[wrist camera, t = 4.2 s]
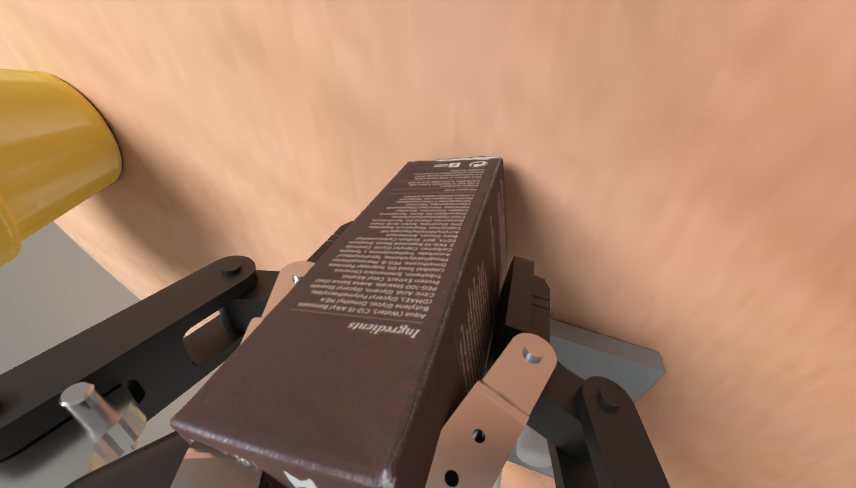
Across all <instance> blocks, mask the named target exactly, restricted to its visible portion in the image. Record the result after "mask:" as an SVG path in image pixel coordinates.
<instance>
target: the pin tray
mask: <svg viewBox="0 0 856 488" xmlns="http://www.w3.org/2000/svg"><path fill="white" fill-rule="evenodd" d="M550 345H551V346H552V348H553V349H554V351H555V353H556V356H557V360H558V361H559V362H560V363H561V364H562V365H563V366H564V367H565V368H567V369H568V370H570V371H571V372H573V373H574V374H576V375H578V376H579V377H581V378H582V379H584V380H586V379H588V378H589V377H592V376H601V377H605V378H608V379H610V380H612V381H614V382H615V383H617V384H618V385H619V386H621V387H622V388H623V389H624V390H625V391H626V392H627V394H628V395H629V396H630V398H631V399H632V401H633V403H635V402H636V401H637V400H638V399H639V398H640V397H641V396H642V395H643V394H644V393H645V392H646V391H647V390H648V389H649V388H650V387H651V386H652V385H653V384H654V383H655V382H656V381H657V380H658V379H659V378H660V377H661V376H662V375H663V374H664V373H665V372H666V371H665V369H664V366H663V363H662V360H661V357H660V354H659V352H656V351H652V350H649V349H646V348H643V347H640V346H637V345H633V344H630V343H627V342H624V341H621V340H618V339H614V338H611V337H608V336H605V335H602V334H598V333H595V332H592V331H589V330H586V329H583V328H579V327H576V326H573V325H570V324H567V323H564V322H560V321H557V320H554V319H551V318H550ZM507 460H508V461H510V462H513V463H516V464H518V465H521V466H524V467H526V468H529V469H531V470H534V471H537V472H539V473H542V474H545V475H547V476H550V477H552V478H554V474H553V469H552V464H551V459H550V454H549V449H548V444H547V439H546V438H544V437H543V436H541V435H540V434H539V433H537V432H536V431H535V430H533V429H532V428H531V427H529V426H528V425H527V424H526V425H525V427H524V429H523V431H522V433H521V435H520V437H519V438H518V440H517V442H516V444H515V446H514V448H513V450H512V452H511V453H510V455H509V457H508V459H507ZM501 473H502V470H501V472H500V474H499V476H498V478H497V480H496V482H495V483H494V485H493V487H492V488H500V484H501Z"/></svg>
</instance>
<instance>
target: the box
mask: <svg viewBox="0 0 856 488" xmlns="http://www.w3.org/2000/svg"><path fill="white" fill-rule="evenodd" d="M506 272H507V242H506V210H505V188H504V170H503V159H502V158H501V157H487V156H481V157H475V158H473V157H470V158H453V159H442V160H440V159H439V160H427V161H415V162H407V164H406V165H405V166H404V167H403V168H402V169H401V170H400V171H399V172H398V174H397V175H396V176H395V177H394V178H393V179H392V180H391V181H390V182H389V183H388V185H387V186H385V188H384V189H383V190H382V191H381V192H380V193H379V194H378V195H377V196H376V197H375V199H374V200H373V201H372V202H371V203H370V204H369V205H368V206H367V207H366V209H365V210H364V211H362V212H361V214H360V215H359V216H358V217H357V218H356V219H355V220H354V221H353V222H352V224H351V225H350V226H349V227H348V228H347V229H346V230H345V231H344V232H343V234H342V235H341V236H340V237H339V238H338V239H337V240H336V241H335V242H334V243H333V245H332V246H331V247H330V248H329V249H328V250H327V251H326V252H325V253H324V254H323V255H322V256H321V257H320V259H319V260H318V261H317V262H316V263H315V264H314V265H313V266H312V267H311V268H310V269H309V271H308V272H307V273H306V274H305V275H304V276H303V277H302V278H301V279H300V280H299V281H298V282H297V283H296V284H295V285H294V287H293V288H292V289H291V290H290V291H289V293H288V294H287V295H286V296H285V297H284V298H283V299H282V300H281V301H280V302H279V303H278V304H277V305H276V306H275V307H274V308H273V309H272V310H271V311H270V312H269V313H268V314H267V315H266V317H265V318H264V319H263V320H262V322H261V323H260V324H259V325H258V326H257V327H256V328H255V329H254V330H253V332H252V333H251V334H250V335H249V336H248V337H247V338H246V339H245V340H244V341H243V342H242V344H241V345H240V346H239V347H238V348H237V349H236V350H235V351H234V352H233V353H232V354H231V355H230V356H229V358H228V359H227V360H226V361H225V362H224V363H223V364H222V366H221V367H220V368H219V369H218V370H217V371H216V372H215V373H214V374H213V375H212V377H211V378H210V379H209V380H208V381H207V382H206V383H205V384H204V385H203V387H202V388H201V389H200V390H199V391H198V392H197V393H196V394H195V395H194V397H193V398H192V399H191V400H190V401H189V402H188V403H187V404H186V405H185V406H184V407H183V408H182V409H181V410H180V411H179V412H178V413H176V414H175V415H174V416H173V417H172V418H171V420H170V426H171V427H172V428H173V429H175V430H176V431H177V432H178V433H179V434H180V436H181V437H183V438H184V439H185V440H186V441H187V442H188V443H189V444H190V445H191V444H192V443H193V442H194V440H195V441H198V442H200V443H203V444H205V445H208V446H210V447H212V448H215V449H217V450H220V451H222V452H224V453H226V454H229V455H231V456H233V457H235V458H237V459H240V460H242V461H244V462H246V463H248V464H251V465H253V466H255V467H257V468H259V469H262V470H263V472H264V474H265V477H266V480H267V483H268V485H269V488H425V486H426V482H427V479H428V476H429V472H430V469H431V465H432V462H433V458H434V454H435V451H436V447H437V444H438V440H439V436H440V433H441V429H442V428H443V427H444V425H445V424H446V423H447V421H448V420H449V419H450V417H451V416H452V415H453V413H454V412H455V411H456V409H457V408H458V407H459V405H460V404H461V402H462V401H463V400H464V398H465V397H466V396H467V394H468V393H469V392H470V390H471V389H472V388H473V386H474V385H475V384H476V383H477V382H478V381H479V380H480V379H481V380H482V379H483V378H484V377H485V376H486V374H487V373H488V371H487V370H486V367H487V361H488V355H489V350H490V344H491V339H492V333H493V327H494V322H495V316H496V311H497V305H498V300H499V296H500V292H501V289H502V286H503V283H504V281H505V277H506Z"/></svg>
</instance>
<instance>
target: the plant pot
mask: <svg viewBox="0 0 856 488" xmlns="http://www.w3.org/2000/svg"><path fill="white" fill-rule="evenodd" d="M121 169H122V159H121V154H120V151H119V147H118V145H117V142H116V140H115V138H114V136H113V134H112V132H111V131H110V129H109V127H108V126H107V124H106V123H105V121H104V120H103V118H102V117H101V115H100V114H99V113H98V112H97V110H96V109H95V108H94V107H93V106H92V105H91V104H90V103H89V102H88V101H87V100H86V99H85V97H83V96H82V95H81V94H80V93H79V92H78V91H77V90H75V89H74V88H73V87H72V86H70V85H69V84H67V83H65V82H64V81H62V80H61V79H59V78H57V77H55V76H53V75H50V74H47V73H43V72H38V71H25V70H11V69H0V266H2V265H3V264H6V263H8V262H10V261H11V260H13V259H14V258H16V256H17V255H18V254H19V252H20V247H21V246H20V242H21V241H23V240H24V239H26V238H28V237H29V236H31V235H32V234H34V233H35V232H36V231H38V230H40V229H41V228H43V227H44V226H46V225H47V224H49V223H50V222H52V221H54V220H55V219H57V218H58V217H60V216H61V215H63V214H65V213H66V212H68V211H69V210H71V209H72V208H74V207H75V206H77V205H78V204H80V203H82V202H83V201H85V200H86V199H88V198H89V197H91V196H93V195H94V194H96V193H97V192H99V191H100V190H102V189H104V188H105V187H107V186H108V185H110V184H111V183H113V182H114V181H115V180H117V178H118V177H119V175H120V173H121Z"/></svg>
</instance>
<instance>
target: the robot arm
mask: <svg viewBox="0 0 856 488" xmlns="http://www.w3.org/2000/svg"><path fill="white" fill-rule="evenodd" d="M352 222H353V221H351V222H349V223H347V224H344V225H342V226H341V227H340V228H339V229H338V230H337V231H336V232H335V233H334V235H332V236H331V237H330V238H329V239H328V241H326V242H325V243H324V244H323V245H322V246H321V247H320V248H319V249H318V250H317V251H316V252H315V253H314V254H313V255H312V256H311V257H310V258H309V259H308V260H307V261H298V262H294V263H291V264H289V265H287V266H285V267H284V268H283V269H282V270H281V271H263V270H256V266H255V263H254V261H253V260H251V259H250V258H248V257H245V256H229V257H225V258H222V259H219V260H217V261H215V262H213V263H212V264H210V265H208V266H206V267H204V268H202V269H200V270H198V271H196V272H194V273H193V274H191V275H189V276H187V277H185V278H183V279H181V280H179V281H177V282H176V283H174V284H172V285H170V286H168V287H166V288H164V289H162V290H160V291H159V292H157V293H155V294H153V295H151V296H149V297H147V298H145V299H143V300H141V301H140V302H138V303H136V304H134V305H132V306H130V307H128V308H127V309H124V310H123V311H121V312H119V313H117V314H115V315H113V316H111V317H109V318H107V319H106V320H104V321H102V322H100V323H98V324H96V325H94V326H93V327H90V328H89V329H87V330H85V331H83V332H81V333H79V334H77V335H75V336H73V337H72V338H70V339H68V340H66V341H64V342H62V343H60V344H58V345H56V346H54V347H53V348H51V349H49V350H47V351H45V352H43V353H41V354H40V355H37V356H36V357H34V358H32V359H30V360H28V361H26V362H24V363H23V364H20V365H19V366H17V367H15V368H13V369H11V370H9V371H7V372H5V373H3V374H2V375H0V488H269V485H268V483H267V480H266V477H265V474H264V472H263V470H262V469H259V468H257V467H255V466H253V465H251V464H248V463H246V462H244V461H242V460H240V459H237V458H235V457H233V456H231V455H229V454H226V453H224V452H222V451H220V450H217V449H215V448H212V447H210V446H208V445H205V444H203V443H200V442H198V441H195V440H194V442H193V443H192V444H191V445H190V444H189V443H188V442H187V441H186V440H185V439H184V438H183V437H181V436H180V434H179V433H178V432H177V431H175V432H173V433H170V434H169V435H166V436H164V437H162V438H160V439H158V440H156V441H154V442H152V443H150V444H148V445H146V446H144V447H141V448H139V449H137V450H135V451H133V450H134V449H135V447H136V446H137V444H138V438H139V436H140V435H141V433H142V432H143V430H144V428H145V425H146V422H147V421H148V420H150V419H151V418H152V417H154V416H155V415H156V414H157V413H159V412H160V411H161V410H162V409H164V408H165V407H166V406H168V405H169V404H170V403H171V402H173V401H174V400H175V399H177V398H178V397H179V396H180V395H182V394H183V393H184V392H186V391H187V390H188V389H190V388H191V387H192V386H193V385H195V384H196V383H197V382H199V381H200V380H201V379H202V378H204V377H205V376H206V375H208V374H209V373H210V372H211V371H213V370H214V369H215V368H217V367H218V366H219V365H221V364H222V363H223V362H224V361H226V360H227V359H228V358H229V356H230V355H231V354H232V353H233V352H234V351H235V350H236V349H237V348H238V347H239V346H240V345H241V344H242V342H243V341H244V340H245V339H246V338H247V337H248V336H249V335H250V334H251V333H252V332H253V330H254V329H255V328H256V327H257V326H258V325H259V324H260V323H261V322H262V320H263V319H264V318H265V317H266V315H267V314H268V313H269V312H270V311H271V310H272V309H273V308H274V307H275V306H276V305H277V304H278V303H279V302H280V301H281V300H282V299H283V298H284V297H285V296H286V295H287V294H288V293H289V291H290V290H291V289H292V288H293V287H294V285H295V284H296V283H297V282H298V281H299V280H300V279H301V278H302V277H303V276H304V275H305V274H306V273H307V272H308V271H309V269H310V268H311V267H312V266H313V265H314V264H315V263H316V262H317V261H318V260H319V259H320V257H321V256H322V255H323V254H324V253H325V252H326V251H327V250H328V249H329V248H330V247H331V246H332V245H333V243H334V242H335V241H336V240H337V239H338V238H339V237H340V236H341V235H342V234H343V232H344V231H345V230H346V229H347V228H348V227H349V226H350V225H351V224H352ZM533 270H534V262H533V261H529V260H526V259H522V258H519V257H516V256H514V258H513V260H512V262H511V265H510V268H509V270H508V273H507V275H506V278H505V281H504V283H503V286H502V289H501V292H500V296H499V300H498V305H497V311H496V316H495V322H494V327H493V333H492V339H491V344H490V350H489V355H488V361H487V367H486V370H487V371H488V373H487V374H486V376H485V377H484V378H483V379H482V380H481V379H480V380H479V381H478V382H477V383H476V384H475V385H474V386H473V388H472V389H471V390H470V392H469V393H468V394H467V396H466V397H465V398H464V400H463V401H462V402H461V404H460V405H459V407H458V408H457V409H456V411H455V412H454V413H453V415H452V416H451V417H450V419H449V420H448V421H447V423H446V424H445V425H444V427H443V428H442V429H441V433H440V436H439V440H438V444H437V447H436V451H435V454H434V458H433V462H432V465H431V469H430V472H429V476H428V479H427V482H426V486H425V488H492V487H493V485H494V483H495V482H496V480H497V478H498V476H499V474H500V472H501V470H502V468H503V467H504V465H505V463H506V461H507V459H508V457H509V455H510V453H511V452H512V450H513V448H514V446H515V444H516V442H517V440H518V438H519V437H520V435H521V433H522V431H523V429H524V427H525V425H526V424H527V425H528V426H529V427H531V428H532V429H533V430H535V431H536V432H537V433H539V434H540V435H541V436H543V437H544V438H546V439H547V444H548V449H549V454H550V459H551V464H552V469H553V474H554V479H555V484H556V488H670V486H669V484H668V481H667V479H666V477H665V474H664V472H663V470H662V468H661V465H660V463H659V461H658V458H657V456H656V454H655V451H654V449H653V447H652V444H651V442H650V440H649V438H648V435H647V433H646V431H645V428H644V426H643V424H642V421H641V419H640V417H639V414H638V412H637V410H636V408H635V405H634V403H633V401H632V399H631V398H630V396H629V395H628V394H627V392H626V391H625V390H624V389H623V388H622V387H621V386H619V385H618V384H617V383H615V382H614V381H612V380H610V379H608V378H605V377H601V376H592V377H589V378H588V379H586V380H584V379H582V378H581V377H579V376H578V375H576V374H574V373H573V372H571V371H570V370H568V369H567V368H565V367H564V366H563V365H562V364H561V363H560V362H559V361H558V360H557V356H556V353H555V351H554V349H553V348H552V346H551V345H550V311H549V310H550V302H549V301H550V289H549V287H548V285H547V283H546V282H545V280H544V279H543V278H540V277H536V276H533ZM218 310H219V312H220V315H218V316H217V317H215V318H214V319H212V320H211V321H209V322H208V323H206V324H205V325H203V326H202V327H200V328H199V329H197V330H196V331H194V332H193V333H191V334H190V335H188V336H186V337H185V338H183V337H184V335H185V333H186V332H187V331H188V330H189V329H190V328H191V327H193V326H194V325H196V324H197V323H199V322H201V321H202V320H204V319H205V318H207V317H208V316H210V315H211V314H213V313H215V312H216V311H218ZM132 451H133V452H132Z"/></svg>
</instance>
